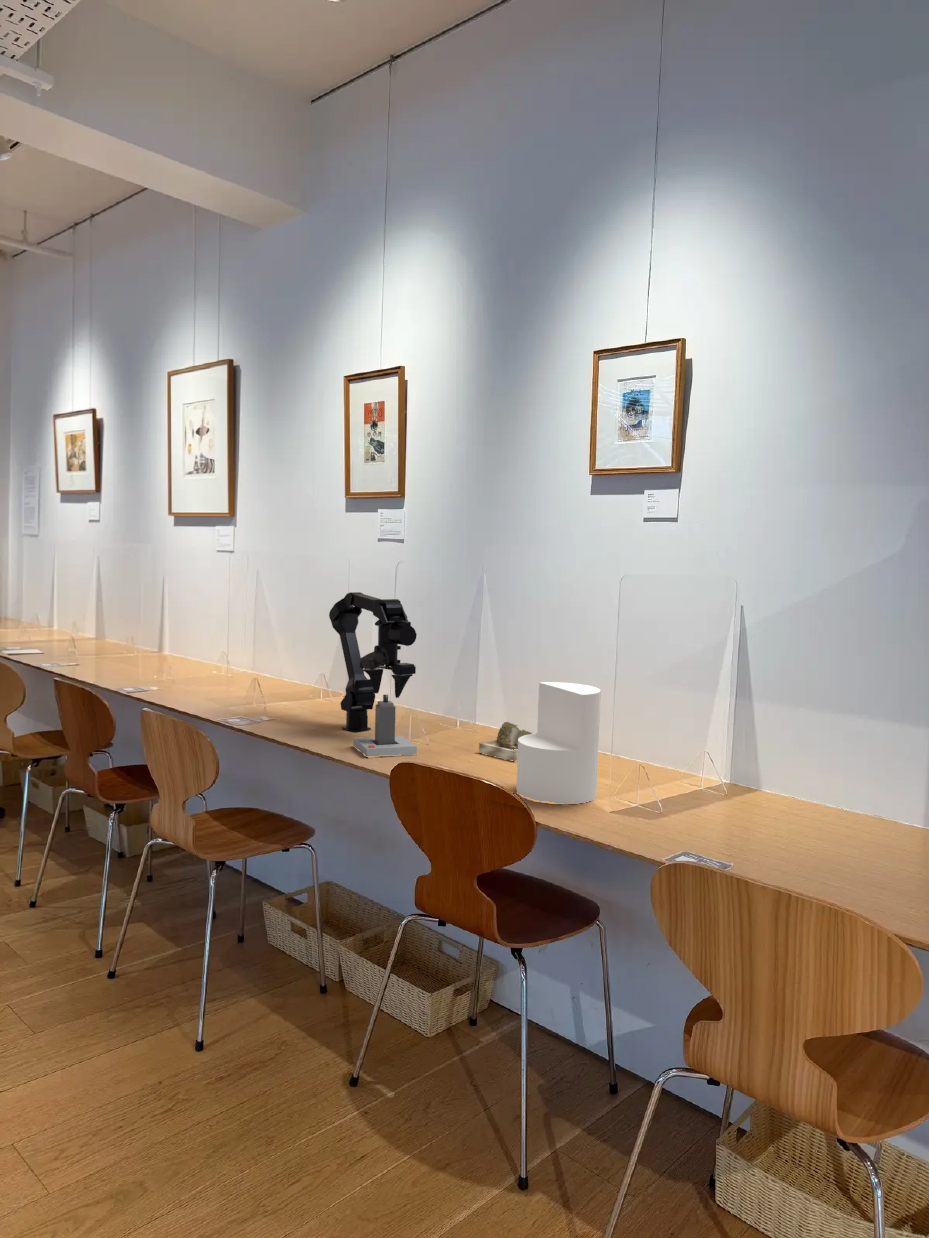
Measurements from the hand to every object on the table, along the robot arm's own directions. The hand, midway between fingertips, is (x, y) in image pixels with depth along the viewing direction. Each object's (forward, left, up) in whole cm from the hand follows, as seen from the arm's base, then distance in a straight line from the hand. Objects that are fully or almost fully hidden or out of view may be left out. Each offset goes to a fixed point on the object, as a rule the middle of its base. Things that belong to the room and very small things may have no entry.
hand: (386, 695), depth 265 cm
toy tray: (+36, +19, -13) cm, 43 cm away
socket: (+11, -10, -13) cm, 20 cm away
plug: (+11, -10, -12) cm, 19 cm away
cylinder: (+69, -7, -13) cm, 71 cm away
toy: (+36, +19, -13) cm, 43 cm away
